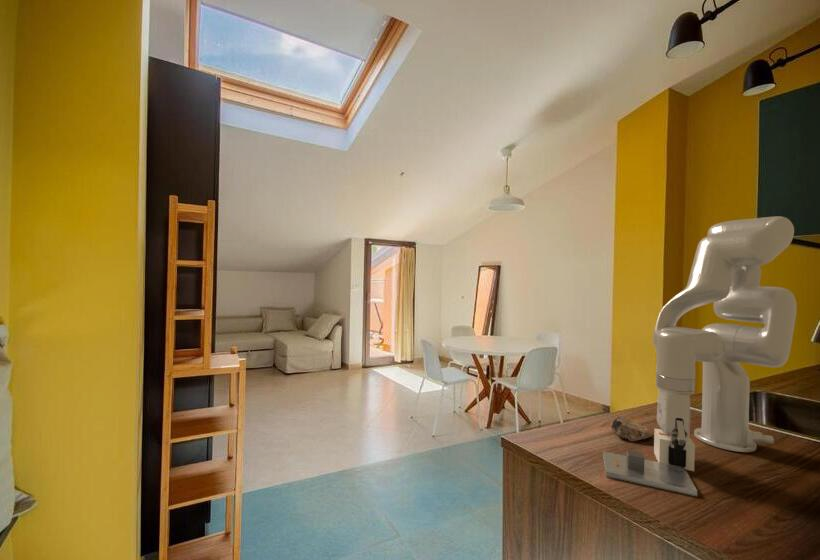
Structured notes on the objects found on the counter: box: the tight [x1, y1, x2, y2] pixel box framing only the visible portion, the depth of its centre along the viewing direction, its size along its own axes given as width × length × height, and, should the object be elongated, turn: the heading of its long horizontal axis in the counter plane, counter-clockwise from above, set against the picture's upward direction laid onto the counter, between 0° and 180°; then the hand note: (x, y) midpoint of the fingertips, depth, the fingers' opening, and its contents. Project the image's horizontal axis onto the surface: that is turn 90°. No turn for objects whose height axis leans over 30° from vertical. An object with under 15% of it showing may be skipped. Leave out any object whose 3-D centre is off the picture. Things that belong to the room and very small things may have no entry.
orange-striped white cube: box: [653, 428, 696, 472], centre depth 86 cm, size 7×7×6 cm
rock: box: [610, 415, 653, 442], centre depth 100 cm, size 9×6×10 cm
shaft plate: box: [602, 449, 698, 497], centre depth 80 cm, size 16×10×4 cm, turn 65°
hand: (673, 457), depth 86 cm, fingers closed on orange-striped white cube, 6 cm apart
